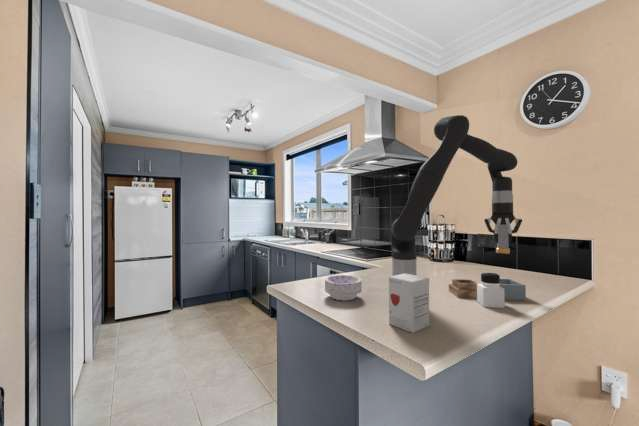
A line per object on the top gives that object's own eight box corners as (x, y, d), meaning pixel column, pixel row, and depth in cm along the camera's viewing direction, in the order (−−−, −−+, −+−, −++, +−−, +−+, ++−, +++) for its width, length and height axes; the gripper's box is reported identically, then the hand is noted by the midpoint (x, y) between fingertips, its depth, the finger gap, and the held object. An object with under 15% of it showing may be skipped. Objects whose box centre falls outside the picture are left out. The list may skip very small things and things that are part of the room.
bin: (496, 299, 112) (496, 284, 112) (483, 291, 123) (483, 278, 123) (525, 300, 111) (525, 285, 111) (510, 292, 122) (509, 278, 122)
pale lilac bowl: (338, 305, 105) (338, 284, 105) (318, 296, 118) (318, 277, 118) (369, 299, 113) (369, 280, 113) (347, 290, 126) (347, 273, 126)
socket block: (457, 297, 115) (457, 284, 115) (448, 290, 125) (448, 278, 125) (482, 297, 114) (482, 284, 114) (472, 291, 124) (472, 279, 124)
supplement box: (387, 324, 87) (387, 276, 87) (405, 317, 93) (404, 272, 93) (413, 333, 80) (412, 281, 80) (430, 326, 85) (429, 277, 86)
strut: (510, 253, 114) (510, 224, 114) (496, 253, 116) (496, 224, 116) (508, 252, 118) (508, 224, 118) (495, 252, 120) (495, 224, 120)
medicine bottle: (505, 308, 101) (504, 275, 101) (483, 307, 103) (483, 274, 103) (496, 302, 108) (496, 271, 108) (476, 301, 110) (476, 271, 110)
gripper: (483, 202, 117) (484, 243, 117) (524, 201, 111) (525, 244, 111) (482, 202, 124) (482, 241, 124) (520, 202, 117) (521, 242, 117)
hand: (502, 242), depth 117 cm, fingers closed on strut, 3 cm apart
